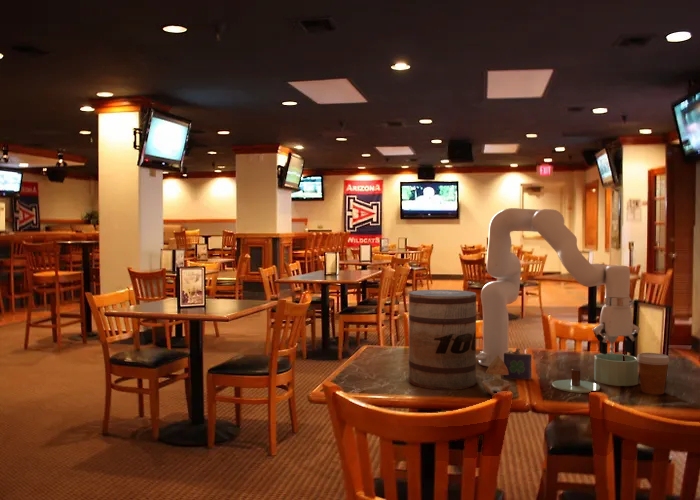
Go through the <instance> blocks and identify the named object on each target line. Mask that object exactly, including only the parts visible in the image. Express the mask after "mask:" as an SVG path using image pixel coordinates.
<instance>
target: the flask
mask: <svg viewBox="0 0 700 500" xmlns="http://www.w3.org/2000/svg"><path fill="white" fill-rule="evenodd" d="M520 350H521V348H515V351H512V352H511V350H508V352H506V353H504V364H505V365H506V367H507V369H508V373H509V375H503V378H504V379H511V380H512V379H514V380H531V379H532V354H531V353H522V352H521V351H520Z"/></svg>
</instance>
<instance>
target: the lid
mask: <svg viewBox="0 0 700 500" xmlns="http://www.w3.org/2000/svg"><path fill="white" fill-rule="evenodd" d="M551 386H552V388H554V389H556V390H558V391H563V392H569V393H578V394H579V393H580V394H590V393H592V392H591V391H596V392H599V391H600V390H601V386H600V385H599V384H597V383H595V382H593V381H587V380H582V379H581V369H579V368H570V379H558V380H553V381H552V382H551ZM589 392H590V393H589Z"/></svg>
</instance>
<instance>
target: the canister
mask: <svg viewBox="0 0 700 500" xmlns="http://www.w3.org/2000/svg"><path fill="white" fill-rule="evenodd" d="M623 356H624V357H625V361H623ZM637 357H638V356H634V355H630V354H625V355H624V354H623V353H610V352H609V353H608V352H607V354H602V353H598V354H597V353H596V354H595V355H594V356H593V380H594V381H595V382H597V383H599V384H603V385H609V386H618V387H630V386H631V387H632V386H637V385H639V383H640V375H639V367H638V361H637V359H636V358H637Z"/></svg>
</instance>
